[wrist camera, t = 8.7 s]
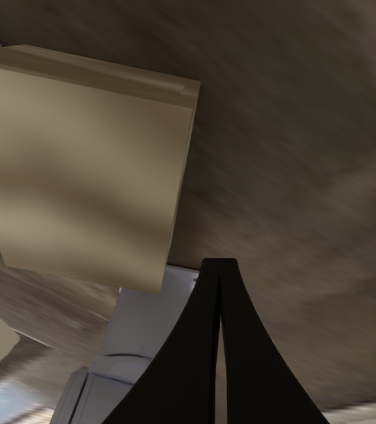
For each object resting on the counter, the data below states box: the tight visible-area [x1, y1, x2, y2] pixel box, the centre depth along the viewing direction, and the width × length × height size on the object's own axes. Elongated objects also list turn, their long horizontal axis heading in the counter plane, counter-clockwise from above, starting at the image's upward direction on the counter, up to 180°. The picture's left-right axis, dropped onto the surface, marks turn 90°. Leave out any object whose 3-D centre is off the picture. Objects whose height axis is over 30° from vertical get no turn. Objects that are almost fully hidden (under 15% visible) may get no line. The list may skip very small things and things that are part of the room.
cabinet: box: [0, 44, 201, 295], centre depth 18 cm, size 13×11×6 cm
